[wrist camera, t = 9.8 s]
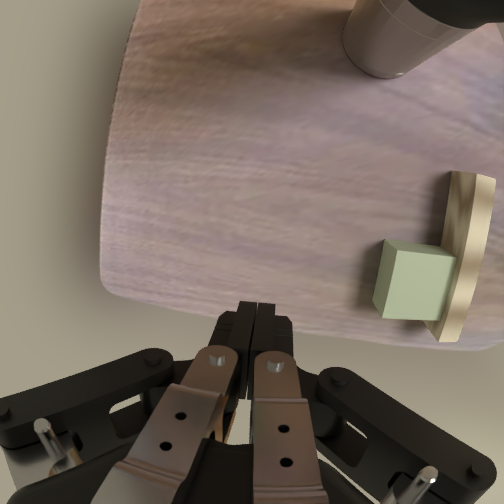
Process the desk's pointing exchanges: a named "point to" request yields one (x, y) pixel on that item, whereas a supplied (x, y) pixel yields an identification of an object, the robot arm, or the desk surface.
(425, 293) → the sage block
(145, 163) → the desk surface
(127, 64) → the desk surface
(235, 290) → the desk surface
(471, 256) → the stop board
